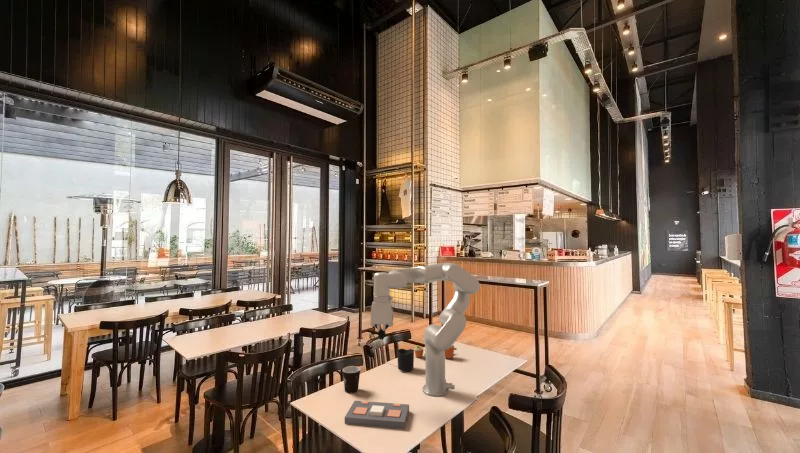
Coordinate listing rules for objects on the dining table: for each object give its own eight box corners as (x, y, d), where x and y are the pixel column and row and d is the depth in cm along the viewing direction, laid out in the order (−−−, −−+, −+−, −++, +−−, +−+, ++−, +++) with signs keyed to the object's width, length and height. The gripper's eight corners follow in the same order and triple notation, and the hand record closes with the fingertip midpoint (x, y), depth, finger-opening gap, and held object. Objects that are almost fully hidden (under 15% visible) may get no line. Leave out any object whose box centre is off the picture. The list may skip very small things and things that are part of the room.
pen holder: (404, 373, 186) (404, 354, 186) (394, 368, 193) (393, 350, 194) (417, 369, 192) (417, 351, 192) (406, 364, 199) (406, 347, 200)
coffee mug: (343, 386, 170) (343, 366, 170) (360, 386, 171) (360, 365, 171) (341, 397, 158) (341, 375, 159) (359, 396, 159) (359, 375, 159)
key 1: (368, 412, 142) (367, 407, 142) (364, 419, 137) (364, 414, 137) (356, 411, 143) (356, 407, 143) (352, 418, 138) (352, 413, 138)
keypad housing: (409, 411, 145) (409, 403, 146) (404, 430, 132) (404, 421, 132) (354, 407, 149) (354, 399, 149) (344, 425, 135) (344, 416, 135)
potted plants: (447, 350, 225) (447, 335, 225) (459, 357, 210) (459, 342, 211) (411, 354, 216) (411, 339, 217) (420, 363, 202) (420, 346, 202)
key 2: (401, 415, 140) (401, 410, 140) (399, 421, 135) (399, 416, 135) (389, 414, 141) (389, 409, 141) (386, 420, 136) (386, 415, 136)
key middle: (384, 411, 141) (384, 406, 141) (381, 417, 136) (381, 412, 136) (372, 410, 142) (372, 405, 142) (369, 416, 137) (369, 411, 137)
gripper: (398, 298, 162) (399, 337, 161) (368, 297, 164) (368, 335, 164) (396, 301, 154) (396, 342, 154) (364, 300, 157) (364, 340, 156)
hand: (381, 338), depth 159 cm, fingers closed
